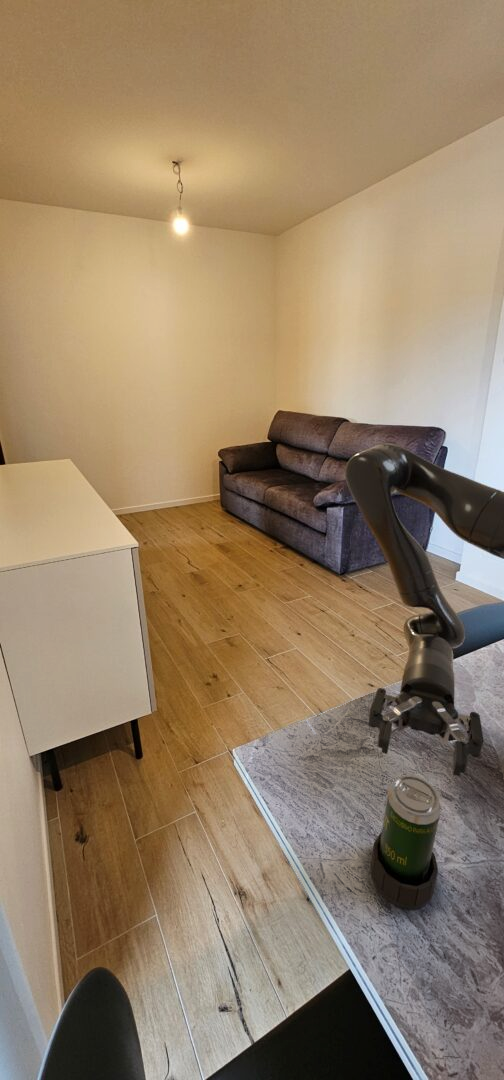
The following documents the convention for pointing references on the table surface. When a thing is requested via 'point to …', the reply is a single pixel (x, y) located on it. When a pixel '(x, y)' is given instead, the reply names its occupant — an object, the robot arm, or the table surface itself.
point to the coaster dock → (400, 892)
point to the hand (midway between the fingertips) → (420, 759)
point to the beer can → (409, 829)
